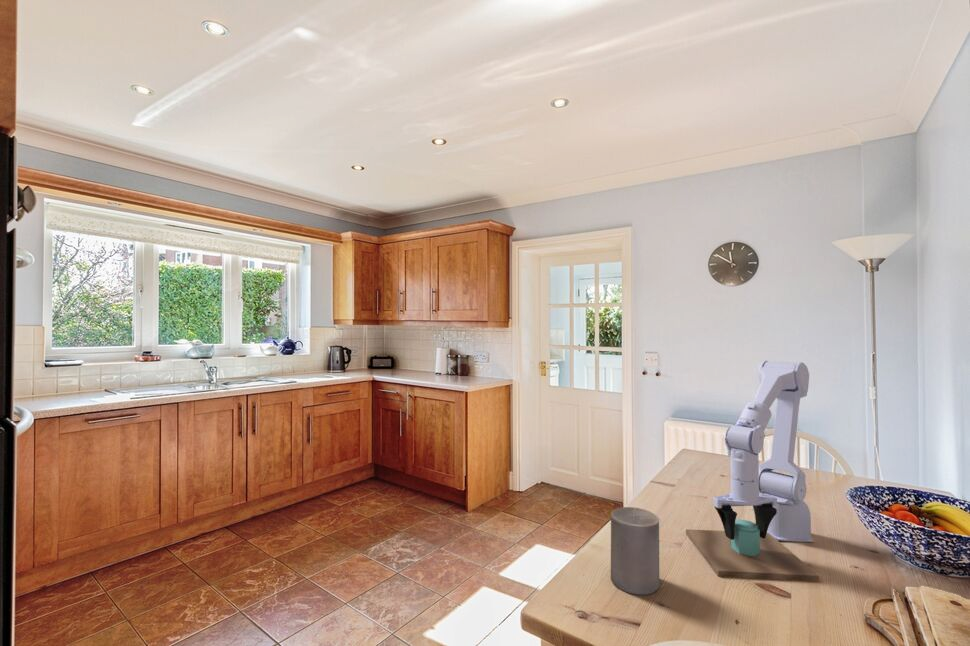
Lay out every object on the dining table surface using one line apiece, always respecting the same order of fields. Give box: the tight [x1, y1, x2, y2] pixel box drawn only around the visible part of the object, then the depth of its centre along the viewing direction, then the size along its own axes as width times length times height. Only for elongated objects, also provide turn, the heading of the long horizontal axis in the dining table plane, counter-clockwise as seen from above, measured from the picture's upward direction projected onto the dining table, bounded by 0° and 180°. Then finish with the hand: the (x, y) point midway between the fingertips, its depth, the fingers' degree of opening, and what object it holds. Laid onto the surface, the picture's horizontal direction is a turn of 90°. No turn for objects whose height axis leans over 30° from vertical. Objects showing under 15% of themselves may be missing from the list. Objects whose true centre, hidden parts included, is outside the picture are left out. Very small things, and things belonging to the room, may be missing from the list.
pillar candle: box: [610, 506, 661, 596], centre depth 93 cm, size 10×10×15 cm
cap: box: [731, 519, 760, 556], centre depth 104 cm, size 5×6×6 cm
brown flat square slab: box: [685, 529, 820, 582], centre depth 104 cm, size 20×20×1 cm
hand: (745, 537), depth 104 cm, fingers open, 7 cm apart
